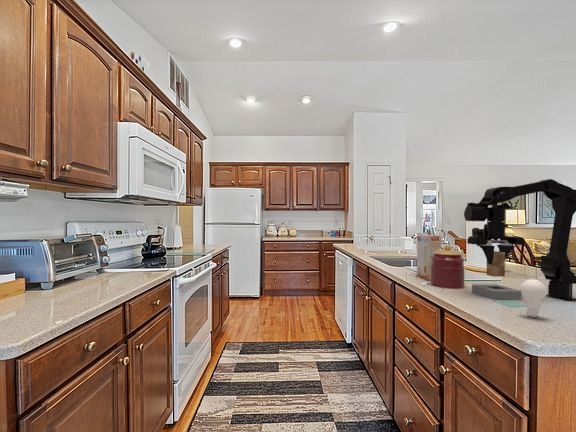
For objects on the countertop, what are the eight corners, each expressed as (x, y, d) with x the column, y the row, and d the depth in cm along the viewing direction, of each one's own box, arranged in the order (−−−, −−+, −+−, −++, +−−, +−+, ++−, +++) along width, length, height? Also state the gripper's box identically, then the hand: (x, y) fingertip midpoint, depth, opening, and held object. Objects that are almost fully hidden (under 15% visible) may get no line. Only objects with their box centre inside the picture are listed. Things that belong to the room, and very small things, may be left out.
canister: (436, 289, 133) (436, 245, 133) (426, 283, 146) (426, 243, 146) (470, 290, 131) (470, 246, 131) (457, 284, 144) (457, 243, 144)
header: (496, 293, 127) (496, 284, 127) (521, 301, 115) (521, 291, 115) (471, 293, 126) (472, 284, 126) (494, 301, 114) (494, 291, 114)
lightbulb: (547, 321, 92) (548, 282, 92) (520, 318, 95) (521, 279, 95) (544, 316, 97) (545, 279, 97) (519, 313, 100) (519, 276, 100)
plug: (496, 274, 123) (496, 251, 123) (505, 276, 118) (505, 252, 119) (486, 274, 122) (486, 251, 122) (494, 276, 118) (494, 252, 118)
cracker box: (441, 281, 151) (441, 235, 151) (427, 281, 151) (428, 235, 151) (428, 275, 165) (428, 234, 165) (416, 275, 165) (416, 233, 165)
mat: (512, 302, 113) (512, 300, 113) (529, 308, 106) (529, 306, 106) (493, 302, 112) (493, 300, 112) (509, 308, 105) (509, 306, 105)
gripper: (503, 221, 129) (502, 261, 129) (458, 221, 128) (457, 261, 127) (526, 222, 118) (526, 265, 118) (477, 221, 117) (477, 265, 116)
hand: (495, 264), depth 120 cm, fingers closed on plug, 4 cm apart
